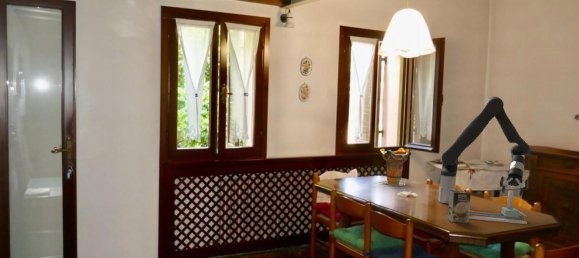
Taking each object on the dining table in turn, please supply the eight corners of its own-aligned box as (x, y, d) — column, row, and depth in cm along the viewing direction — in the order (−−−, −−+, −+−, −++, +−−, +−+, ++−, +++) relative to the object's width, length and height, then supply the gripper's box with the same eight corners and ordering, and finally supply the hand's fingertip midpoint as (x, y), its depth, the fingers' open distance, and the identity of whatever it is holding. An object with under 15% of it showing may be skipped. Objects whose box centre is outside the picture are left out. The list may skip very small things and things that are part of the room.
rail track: (468, 218, 245) (469, 211, 245) (463, 213, 257) (464, 206, 256) (526, 224, 240) (527, 216, 240) (519, 218, 252) (519, 211, 252)
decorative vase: (371, 181, 344) (375, 145, 342) (394, 181, 355) (398, 146, 353) (389, 186, 325) (394, 148, 324) (413, 186, 336) (417, 149, 335)
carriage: (505, 216, 244) (507, 192, 243) (501, 213, 251) (503, 189, 250) (518, 217, 243) (520, 193, 242) (514, 214, 250) (516, 190, 249)
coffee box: (451, 222, 236) (454, 192, 235) (447, 218, 242) (449, 189, 241) (468, 222, 236) (471, 193, 235) (463, 219, 243) (465, 190, 241)
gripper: (502, 165, 261) (497, 187, 252) (529, 168, 253) (526, 191, 244) (503, 173, 266) (498, 195, 257) (530, 176, 258) (526, 199, 249)
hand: (511, 193), depth 251 cm, fingers open, 8 cm apart
